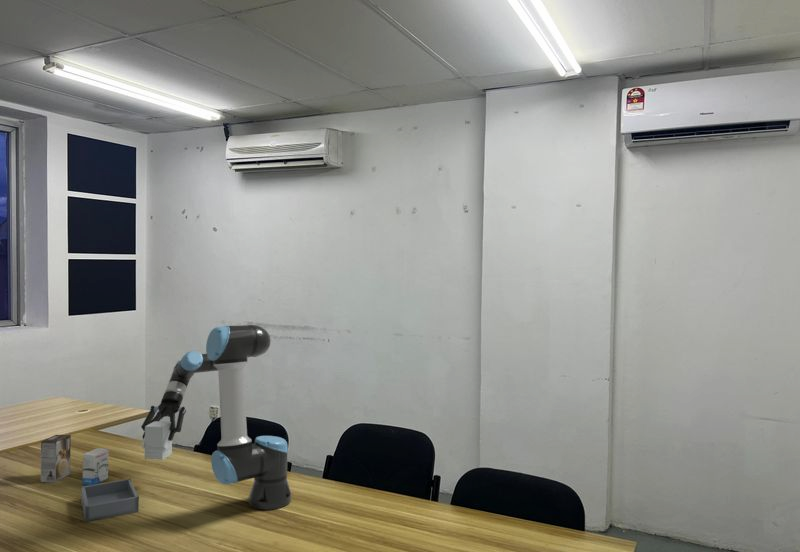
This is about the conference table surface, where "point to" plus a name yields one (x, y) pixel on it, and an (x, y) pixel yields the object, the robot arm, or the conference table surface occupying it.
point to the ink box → (95, 466)
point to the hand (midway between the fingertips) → (153, 447)
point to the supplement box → (157, 440)
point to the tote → (109, 500)
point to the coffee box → (55, 458)
